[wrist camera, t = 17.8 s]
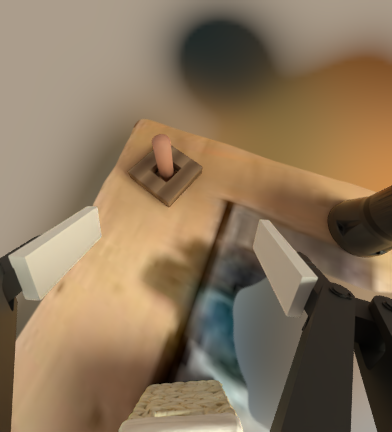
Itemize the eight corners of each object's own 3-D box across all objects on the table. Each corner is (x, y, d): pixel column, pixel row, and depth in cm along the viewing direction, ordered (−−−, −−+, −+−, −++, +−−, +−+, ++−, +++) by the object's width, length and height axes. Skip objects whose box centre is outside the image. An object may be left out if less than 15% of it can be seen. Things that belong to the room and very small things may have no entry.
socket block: (201, 173, 52) (202, 166, 49) (168, 207, 48) (167, 202, 45) (165, 147, 55) (163, 140, 52) (131, 177, 50) (127, 171, 48)
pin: (177, 175, 52) (174, 140, 39) (167, 184, 50) (161, 151, 38) (166, 167, 52) (160, 131, 40) (156, 176, 51) (147, 142, 39)
